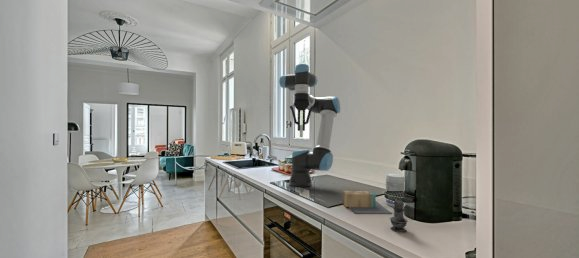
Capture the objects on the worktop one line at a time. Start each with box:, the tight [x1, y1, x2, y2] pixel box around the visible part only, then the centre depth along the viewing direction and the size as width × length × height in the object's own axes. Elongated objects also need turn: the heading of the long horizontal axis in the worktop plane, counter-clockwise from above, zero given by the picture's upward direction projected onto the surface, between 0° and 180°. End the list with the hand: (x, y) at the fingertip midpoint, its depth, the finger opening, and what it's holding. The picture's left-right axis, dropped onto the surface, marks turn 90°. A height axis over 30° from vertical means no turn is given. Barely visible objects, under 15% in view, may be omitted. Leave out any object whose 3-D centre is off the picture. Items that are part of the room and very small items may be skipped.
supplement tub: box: [385, 173, 405, 208], centre depth 118 cm, size 10×10×15 cm
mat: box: [349, 200, 393, 215], centre depth 116 cm, size 22×16×1 cm
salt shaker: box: [389, 197, 409, 234], centre depth 88 cm, size 6×6×12 cm
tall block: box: [342, 190, 377, 208], centre depth 116 cm, size 6×6×14 cm
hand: (301, 136), depth 131 cm, fingers closed
